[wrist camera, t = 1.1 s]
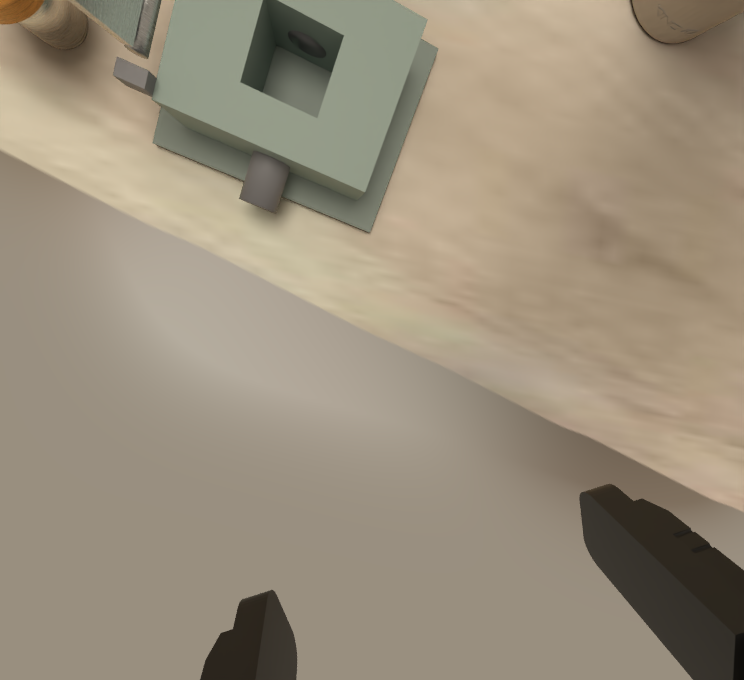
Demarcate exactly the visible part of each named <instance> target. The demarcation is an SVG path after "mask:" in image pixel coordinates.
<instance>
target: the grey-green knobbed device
mask: <svg viewBox="0 0 744 680" xmlns="http://www.w3.org/2000/svg"><path fill="white" fill-rule="evenodd" d="M426 23H427V19H425V18H424V17H422V16H420V15H418V14H417V13H415V12H413V11H411V10H410V9H408V8H406V7H404V6H402V5H401V4H399V3H397V2H395V1H394V0H175V3H174V7H173V11H172V15H171V20H170V24H169V28H168V32H167V37H166V41H165V45H164V49H163V54H162V58H161V62H160V66H159V70H158V75H157V78H156V77H155V76H154V75H152V74H151V73H150V72H149V71H148V70H146V69H144V68H141V67H139V66H137V65H135V64H133V63H130V62H128V61H126V60H124V59H121V58H119V57H117V58H116V63H115V68H114V73H113V76H115V77H116V78H117V79H119V80H120V81H121V82H122V83H124V84H125V85H126V86H128V87H130V88H133V89H135V90H137V91H140V92H142V93H144V94H146V95H149V96H151V97H152V100H153V101H155V102H156V103H157V104H158V105H159V106H161V110H160V114H159V118H158V122H157V126H156V131H155V135H154V139H153V143H154V144H155V145H157V146H160V147H162V148H165V149H167V150H170V151H172V152H174V153H177V154H179V155H182V156H184V157H187V158H189V159H191V160H194V161H196V162H199V163H201V164H204V165H206V166H208V167H211V168H213V169H216V170H218V171H220V172H223V173H225V174H228V175H230V176H233V177H235V178H237V179H240V180H242V181H244V184H243V187H242V190H241V194H240V197H239V199H241V200H243V201H246V202H248V203H251V204H253V205H256V206H258V207H260V208H263V209H265V210H268V211H271V212H273V213H276V212H277V208H278V205H279V202H280V199H281V197H284V198H286V199H288V200H291V201H293V202H296V203H298V204H301V205H303V206H305V207H308V208H310V209H313V210H315V211H318V212H320V213H322V214H325V215H327V216H330V217H332V218H334V219H337V220H339V221H342V222H344V223H347V224H349V225H351V226H354V227H356V228H359V229H361V230H364V231H366V232H368V233H370V231H371V228H372V226H373V223H374V220H375V218H376V215H377V212H378V209H379V207H380V204H381V201H382V199H383V196H384V193H385V191H386V188H387V185H388V183H389V180H390V177H391V175H392V172H393V169H394V167H395V164H396V161H397V158H398V156H399V153H400V150H401V148H402V145H403V142H404V140H405V137H406V134H407V132H408V129H409V126H410V124H411V121H412V118H413V116H414V113H415V110H416V107H417V105H418V102H419V99H420V97H421V94H422V91H423V89H424V86H425V83H426V81H427V78H428V75H429V73H430V70H431V67H432V65H433V62H434V59H435V57H436V54H437V51H438V48H437V47H435V46H433V45H431V44H429V43H427V42H426V41H424V40H422V39H421V37H422V34H423V31H424V28H425V26H426Z"/></svg>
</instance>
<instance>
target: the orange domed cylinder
mask: <svg viewBox="0 0 744 680" xmlns="http://www.w3.org/2000/svg"><path fill="white" fill-rule="evenodd" d="M13 23H19V24H20V25H22V26H23V27H25V28H26V29H27V30H29V31H30V32H32V33H33V34H35V35H36V36H37V37H39V38H40V39H42V40H43V41H44V42H46V43H47V44H49V45H51V46H53V47H55V48H58V49H72V48H75V47H77V46H79V45H80V44H81V43H82V42H83V41H84V39H85V37H86V34H87V30H88V22H87V17H86V14H84V13H83V12H82V11H81V10H79V9H78V8H77V7H76V6H74V5H73V4H72V3H71V2H69V1H68V0H0V24H13Z"/></svg>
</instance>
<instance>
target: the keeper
mask: <svg viewBox="0 0 744 680" xmlns="http://www.w3.org/2000/svg"><path fill="white" fill-rule="evenodd" d="M68 1H69V2H71V3H72V4H73V5H74V6H76V7H77V8H78V9H79V10H81V11H82V12H83V13H84V14H86V15H87V16H88V17H90V18H91V19H92V20H93V21H95V22H96V23H97V24H98V25H100V26H101V27H102V28H103V29H105V30H106V31H107V32H108V33H110V34H111V35H112V36H114V37H115V38H116V39H117V40H119V41H120V42H121V43H123V44H124V46H125V47H126V48H127V49H128V50H129V51H131V52H133V53H134V54H136V55H138V56H140V57H142V58H145V59H148V57H149V52H150V48H151V44H152V39H153V35H154V30H155V26H156V22H157V17H158V13H159V9H160V4H161V0H68Z"/></svg>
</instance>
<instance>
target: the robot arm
mask: <svg viewBox="0 0 744 680" xmlns="http://www.w3.org/2000/svg"><path fill="white" fill-rule="evenodd" d="M632 3H633V8H634V11H635V14H636V16H637V19H638V21H639V23H640V24H641V26H642V27H643V28H644V30H645V31H646V32H647V33H648V34H649V35H651V36H652V37H653V38H655V39H657V40H659V41H661V42H664V43H671V44H674V43H682V42H685V41H687V40H690V39H692V38H694V37H696V36H698V35H700V34H702V33H704V32H706V31H708V30H709V29H711V28H713V27H715V26H717V25H719V24H721V23H723V22H724V21H726V20H728V19H730V18H732V17H734V16H736V15H738V14H740V13H742V12H744V0H632ZM580 508H581V516H582V525H583V536H584V541H585V544H586V547H587V549H588V551H589V553H590V555H591V557H592V558H593V560H594V561H595V563H596V564H597V566H598V567H599V568H600V569H601V570H602V572H603V573H604V574H605V575H606V576H607V578H608V579H609V580H610V581H611V582H612V584H613V585H614V586H615V587H616V588H617V589H618V591H619V592H620V593H621V594H622V595H623V597H624V598H625V599H626V600H627V601H628V602H629V604H630V605H631V606H632V607H633V609H634V610H635V611H636V612H637V613H638V615H639V616H640V617H641V618H642V619H643V620H644V622H645V623H646V624H647V625H648V626H649V628H650V629H651V630H652V631H653V632H654V634H655V635H656V636H657V637H658V638H659V640H660V641H661V642H662V643H663V644H664V645H665V647H666V648H667V649H668V650H669V651H670V652H671V654H672V655H673V656H674V657H675V659H676V660H677V661H678V662H679V663H680V665H681V666H682V667H683V668H684V669H685V670H686V672H687V673H688V674H689V675H690V676H691V678H692V679H693V680H744V570H743V569H741V568H740V567H739V566H737V565H736V564H735V563H734V562H732V561H731V560H730V559H729V558H727V557H726V556H725V555H724V554H722V553H721V552H720V551H719V550H717V549H716V548H715V547H714V548H712V547H711V546H710V544H709V543H708V542H707V541H706V540H705V539H703V538H702V537H701V536H699V535H698V534H697V533H696V532H692V531H691V528H689V527H688V526H687V525H686V524H684V523H683V522H682V521H681V520H679V519H678V518H677V517H676V516H674V515H673V514H672V513H671V512H669V511H668V510H666V509H663V508H661V507H659V506H657V505H655V504H653V503H650V502H648V501H646V500H644V499H639V500H636V501H633V500H632V499H630V498H629V497H628V496H627V495H626V494H624V493H623V492H622V491H621V490H620V489H619V488H617V487H616V486H614V485H612V484H607V485H604V486H600V487H597V488H594V489H591V490H588V491H585V492H582V493H581V494H580ZM296 674H297V650H296V643H295V638H294V634H293V631H292V629H291V627H290V624H289V622H288V620H287V617H286V615H285V613H284V611H283V608H282V607H281V604H280V602H279V599H278V597H277V595H276V593H275V592H274V591H273V590H270V591H267V592H264V593H261V594H258V595H255V596H252V597H249V598H245V599H242V600H241V602H240V603H239V606H238V609H237V614H236V618H235V623H234V627H233V629H232V630H229V631H226V632H223V633H221V634H220V636H219V638H218V639H217V641H216V643H215V645H214V646H213V648H212V650H211V652H210V653H209V655H208V657H207V659H206V661H205V664H204V668H203V672H202V675H201V679H200V680H296Z"/></svg>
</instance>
